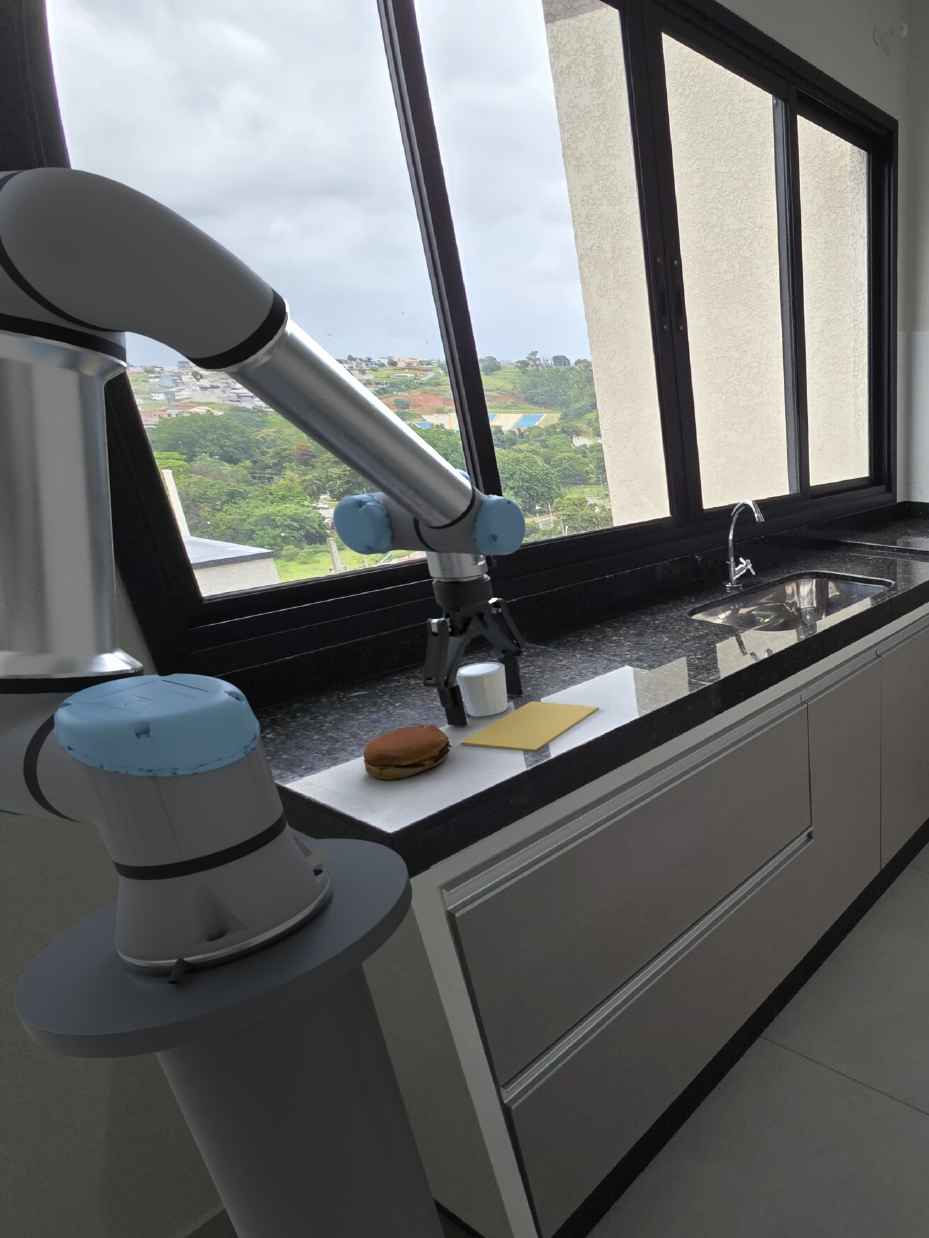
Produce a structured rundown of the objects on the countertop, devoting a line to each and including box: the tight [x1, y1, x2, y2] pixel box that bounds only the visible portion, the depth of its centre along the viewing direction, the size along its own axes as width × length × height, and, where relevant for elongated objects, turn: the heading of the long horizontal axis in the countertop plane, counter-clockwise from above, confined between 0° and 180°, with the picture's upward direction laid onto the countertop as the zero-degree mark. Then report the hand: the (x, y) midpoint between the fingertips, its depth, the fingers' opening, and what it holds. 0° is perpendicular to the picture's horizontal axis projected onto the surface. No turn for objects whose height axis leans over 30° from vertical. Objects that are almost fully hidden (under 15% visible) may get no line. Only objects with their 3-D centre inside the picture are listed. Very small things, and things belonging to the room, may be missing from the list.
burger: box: [363, 724, 453, 781], centre depth 100 cm, size 10×9×5 cm
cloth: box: [459, 700, 600, 752], centre depth 113 cm, size 16×12×1 cm
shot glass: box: [455, 661, 509, 717], centre depth 118 cm, size 7×7×7 cm
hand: (487, 709), depth 119 cm, fingers open, 12 cm apart
